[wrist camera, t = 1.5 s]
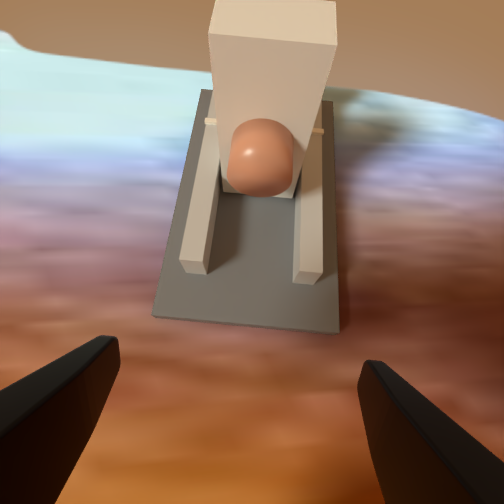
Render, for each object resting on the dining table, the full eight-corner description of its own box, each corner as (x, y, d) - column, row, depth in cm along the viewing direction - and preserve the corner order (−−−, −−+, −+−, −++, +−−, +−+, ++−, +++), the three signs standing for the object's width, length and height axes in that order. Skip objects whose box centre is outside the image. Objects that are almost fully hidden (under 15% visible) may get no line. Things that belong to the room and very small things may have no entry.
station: (335, 334, 19) (373, 319, 14) (155, 317, 19) (121, 295, 14) (329, 110, 27) (352, 43, 22) (202, 98, 27) (193, 28, 22)
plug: (290, 227, 21) (339, 89, 11) (218, 221, 21) (198, 75, 11) (293, 166, 23) (335, 1, 13) (228, 160, 23) (217, -10, 13)
